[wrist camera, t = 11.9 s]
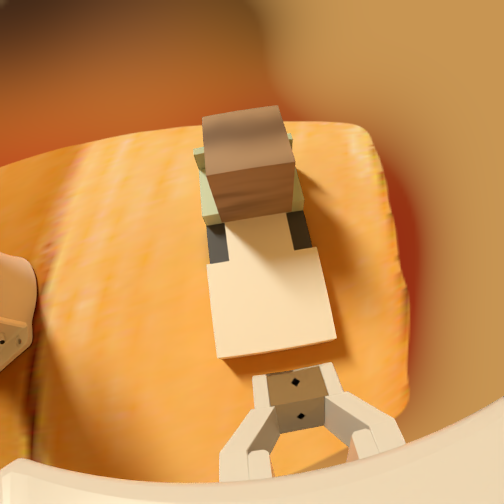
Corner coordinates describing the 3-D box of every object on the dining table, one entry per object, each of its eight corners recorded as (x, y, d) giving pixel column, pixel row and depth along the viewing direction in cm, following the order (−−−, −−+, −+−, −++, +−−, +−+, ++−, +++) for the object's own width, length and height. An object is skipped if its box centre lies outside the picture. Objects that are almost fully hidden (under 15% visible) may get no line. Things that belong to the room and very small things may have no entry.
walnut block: (291, 211, 35) (295, 161, 26) (221, 222, 35) (206, 175, 26) (278, 158, 38) (277, 105, 29) (215, 168, 38) (201, 117, 30)
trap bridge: (331, 341, 32) (343, 334, 26) (222, 359, 32) (211, 356, 26) (289, 163, 41) (290, 133, 35) (203, 177, 41) (193, 149, 36)
